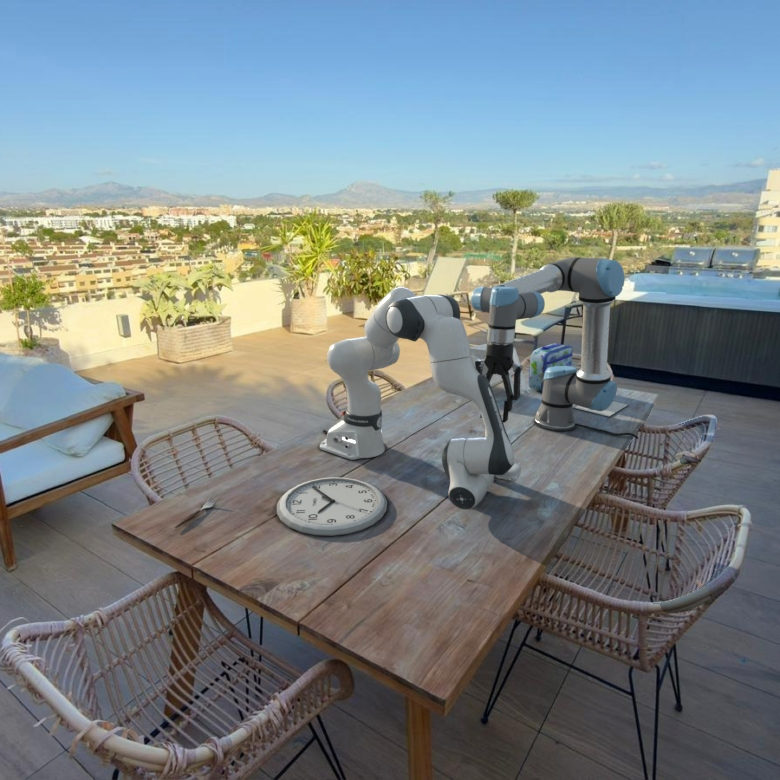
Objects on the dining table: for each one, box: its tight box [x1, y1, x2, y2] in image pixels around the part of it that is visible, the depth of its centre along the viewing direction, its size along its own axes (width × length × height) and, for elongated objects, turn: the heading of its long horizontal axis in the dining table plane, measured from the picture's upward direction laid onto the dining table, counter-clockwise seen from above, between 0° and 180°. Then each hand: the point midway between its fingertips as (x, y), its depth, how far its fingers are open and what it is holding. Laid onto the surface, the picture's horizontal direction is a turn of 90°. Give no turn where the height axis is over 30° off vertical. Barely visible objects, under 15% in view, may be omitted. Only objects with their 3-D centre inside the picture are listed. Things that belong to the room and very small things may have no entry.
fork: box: [174, 492, 220, 529], centre depth 137 cm, size 3×16×2 cm, turn 160°
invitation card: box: [573, 400, 629, 418], centre depth 226 cm, size 21×1×15 cm
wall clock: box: [276, 476, 388, 537], centre depth 142 cm, size 30×2×30 cm
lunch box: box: [528, 343, 574, 392], centre depth 249 cm, size 26×11×21 cm, turn 134°
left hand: (491, 456), depth 160 cm, fingers closed on bottle, 5 cm apart
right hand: (494, 418), depth 155 cm, fingers open, 6 cm apart
